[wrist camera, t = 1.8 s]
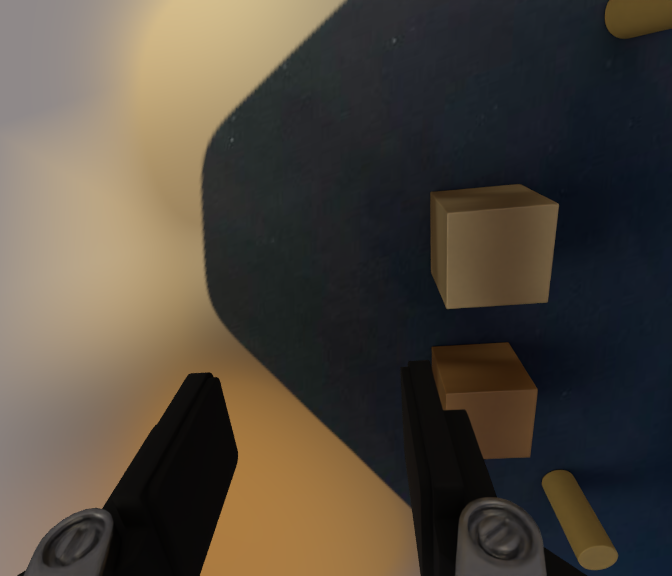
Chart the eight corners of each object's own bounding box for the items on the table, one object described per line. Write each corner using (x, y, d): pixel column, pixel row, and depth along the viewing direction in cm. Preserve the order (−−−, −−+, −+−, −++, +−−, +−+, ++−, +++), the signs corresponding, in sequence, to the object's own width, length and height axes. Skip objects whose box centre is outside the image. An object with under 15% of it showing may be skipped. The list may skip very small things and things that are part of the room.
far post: (535, 487, 33) (571, 564, 27) (551, 465, 32) (592, 541, 26) (562, 495, 33) (604, 574, 27) (580, 474, 32) (626, 551, 26)
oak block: (432, 406, 30) (445, 460, 25) (431, 346, 28) (445, 394, 23) (503, 402, 30) (530, 457, 25) (508, 341, 28) (538, 389, 23)
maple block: (430, 272, 26) (446, 309, 21) (430, 191, 24) (447, 212, 19) (514, 266, 25) (548, 303, 21) (520, 183, 23) (559, 203, 19)
